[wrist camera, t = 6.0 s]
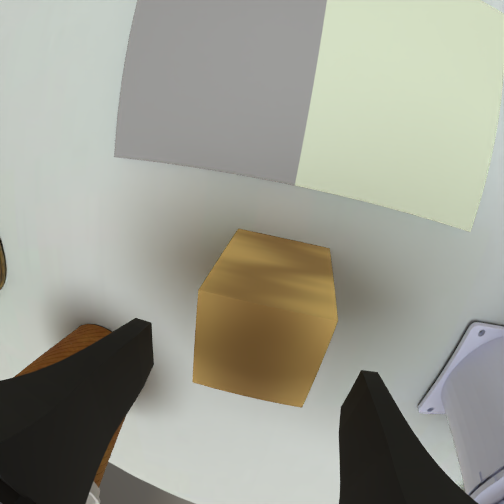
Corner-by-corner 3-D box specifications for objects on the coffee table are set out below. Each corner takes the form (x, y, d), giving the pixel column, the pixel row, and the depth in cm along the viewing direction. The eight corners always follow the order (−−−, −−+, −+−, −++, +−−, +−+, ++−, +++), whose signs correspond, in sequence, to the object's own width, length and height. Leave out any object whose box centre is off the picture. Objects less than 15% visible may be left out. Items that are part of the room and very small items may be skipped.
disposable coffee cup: (50, 288, 20) (-59, 386, 9) (161, 328, 19) (59, 486, 8) (72, 374, 24) (2, 465, 13) (164, 413, 23) (107, 532, 12)
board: (499, 16, 8) (504, 14, 8) (465, 228, 13) (470, 232, 12) (157, -48, 10) (152, -52, 9) (120, 155, 15) (114, 157, 14)
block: (329, 248, 15) (337, 320, 9) (307, 322, 17) (301, 407, 11) (238, 228, 15) (198, 289, 10) (227, 304, 17) (192, 382, 12)
